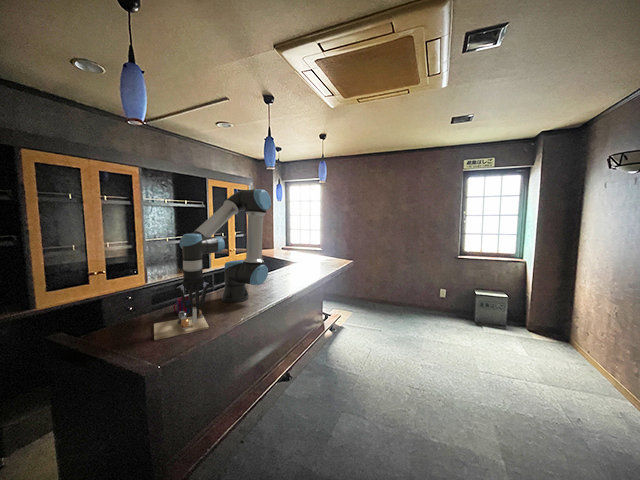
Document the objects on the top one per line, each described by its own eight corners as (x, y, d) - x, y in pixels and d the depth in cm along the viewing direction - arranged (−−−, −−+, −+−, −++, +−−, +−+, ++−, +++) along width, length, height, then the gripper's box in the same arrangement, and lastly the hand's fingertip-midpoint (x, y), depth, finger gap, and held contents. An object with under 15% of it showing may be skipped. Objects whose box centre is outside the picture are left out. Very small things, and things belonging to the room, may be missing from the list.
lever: (185, 316, 120) (185, 308, 120) (189, 329, 107) (189, 320, 107) (177, 318, 119) (177, 309, 118) (181, 330, 105) (180, 321, 105)
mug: (195, 310, 133) (194, 297, 132) (178, 317, 124) (177, 303, 123) (185, 308, 136) (185, 296, 135) (168, 315, 126) (167, 301, 126)
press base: (202, 316, 125) (202, 307, 124) (208, 328, 111) (208, 318, 111) (154, 325, 114) (153, 315, 113) (154, 340, 100) (153, 329, 100)
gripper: (207, 266, 117) (208, 316, 119) (174, 269, 109) (176, 322, 111) (210, 269, 110) (212, 322, 112) (176, 272, 103) (178, 328, 105)
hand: (194, 322), depth 112 cm, fingers closed
